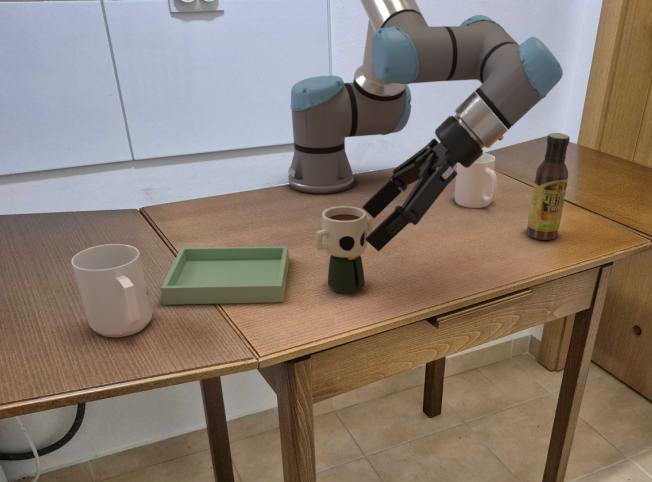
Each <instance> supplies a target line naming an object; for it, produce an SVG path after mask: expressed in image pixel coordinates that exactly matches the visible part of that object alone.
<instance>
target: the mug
mask: <svg viewBox="0 0 652 482" xmlns="http://www.w3.org/2000/svg"><path fill="white" fill-rule="evenodd" d="M70 263H71V267H72V271H73V274H74V278H75V280H76V281H75V282H76V284H77V289H78V291H79V295H80V299H81V302H82V306H83V310H84V313H85V317H86V320H87V324H88V326H89V328H90V329H91V328H92V329H93V330H92V329H91V330H92V331H94V330H95V331H94V332H95V333H97V334H99V335H101V336H103V337H107V338H122V337H128V336H132V335H135V334H136V333H137V334H138V333H139V332H141V331H142V330H145V328H146V327H147V326H148V325H149V323H150V321H152V318H153V308H152V304H151V299H150V294H149V290H148V286H147V280H146V276H145V271H144V266H143V262H142V258H141V253H140V251H139V249H138V248H136V247H135V246H132V245H130V244H124V243H123V244H122V243H109V244H108V243H107V244H100V245H95V246H92V247H89V248H85V249H82V250H81V251H79V252H78V253H75V255H74V256H72V258H71V260H70ZM96 331H97V332H96ZM98 332H100V333H98ZM103 333H107V334H103ZM119 333H121V334H119Z"/></svg>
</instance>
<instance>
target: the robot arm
mask: <svg viewBox="0 0 652 482" xmlns="http://www.w3.org/2000/svg"><path fill="white" fill-rule="evenodd" d="M360 3H361V5H362V7H363V9H364V11H365V13H366V15H367V18H368V23H367V31H366V39H365V45H364V51H363V59H362V65H360V66H358V67H357V68H356V69H355V72H354V75H353V81H352V82H344V80H343V78H342V77H341V76H338V75H318V76H312V77H308V78H304V79H301V80H299V81H297V82H296V83H294V84H293V86H292V87H291V90H290V110H291V122H292V136H293V137H292V138H293V149H294V151H293V156H292V161H291V164H290V166H289V167H288V185H289V187H290V188H291V189H293V190H295V191H297V192H301V193H306V194H317V195H318V194H319V195H321V194H323V195H324V194H333V193H334V194H335V193H340V192H343V191H346V190H348V189H351V187H353V185H354V173H353V170H352V166H351V164H350V161H349V158H348V155H347V153H346V138H354V137H366V136H367V137H368V136H377V135H378V136H379V135H380V136H387V135H390V134H396V133H399V132H401V131H402V130H404V128H406V126H407V124H408V122H409V120H410V116H411V112H412V105H411V102H412V93H411V90H410V87H409V85H411V84H422V83H423V84H424V83H435V82H454V81H456V82H457V81H458V82H459V81H479V82H480V83H481V84H480V85H479V86H478V87H477V88H476V89H475V90H474V91H472V92H471V94H469V96H468V97H467V98H465V99H464V100H463V102H461V104H459V105H458V106H457V107H456V108H455V110H454V113H455V115H449V116H448V117H446V118H445V120H444V121H443V122H441V124H440V125H439V126H437V128H435V130H434V134H435V136H436V138H437V139H436V138H432V139H431V140H430V141H429V142H428V143H427V144H426V145H425V146H424V147H423V148H421V149H419V150H418V151H417V152H416V153H414V154H413V155H412V156H410V157H409V158H407V159H406V160H405V161H403V162H402V163H400V165H398V166H396V167H395V168H394V169H393V170H392V175H391V177H390V179H389V180H388V181H386V183H384V185H382V186H381V188H380V189H379V190H378V191H377V192H375V193H374V194H373V196H371V197H370V198H369V200H367V201H366V202H365V203H364V204H363V205H362V209H363V210H364V211H365V212H366V213H367V214H368V215H369V216H370V217H371V218H373V219H376V217H377V216H378V215H380V214H381V213H382V212H383V211H384V210H385V209H386V208H387V207H388V206H389V205H390V204H391V203H392V202H393V201H394V200H395V199H396V198H398V196H400V194H402V192H403V193H405V192H406V191H407V189H408V186H410V185H412V184H414V183H415V182H416V183H415V185H414V186H413V188H412V189H411V190H410V193H409V194H408V195H407V197H406V198H405V200H404V202H403V203H402V205H396V206H394V210H392V212H390V214H389V215H387V217H386V218H385V219H383V220H382V221H381V223H379V225H378V226H376V228H374V229H373V230H372V232H371V233H370V234H369V235H368V236H367V237H366V241H367V242H368V243H367V244H369V245H370V246H372V248H374V249H375V250H376V251H377V252H380V251H381V250H382V249H383V248H384V247H386V245H387V244H388V243H390V241H392V240H393V238H395V237H396V236H397V235H398V234H399V233H400V232H401V231H402V230H403V229H405V227H407V226H408V225H409V224H412V225H414V226H416V225H418V223H419V222H420V221H421V220H422V219H423V217H425V215H426V213H427V212H428V210H430V209H431V207H432V206H433V204H434V203H435V202H436V200H437V199H438V198H439V196H440V195H441V194H442V193H443V191H444V190H445V189H446V188H447V186H448V185H449V184H450V183H451V182H452V181H453V180H454V179H456V176H457V172H456V169H454V167H455V166H456V165H457V163H460V164H461V165H462V166H463V167H465V168H468V167H470V166H471V165H472V164H473V163H474V162H475V161H476V160H477V159H478V158H479V157H480V156H481V155H483V153H484V150H483V149H484V148H486V149H489V148H492V146H493V145H494V144H495V143H496V142H497V141H502V140H503V139H504V138H505V137H504V135H505V134H506V132H508V130H510V129H511V128H512V127H513V126H514V125H515V124H516V123H518V122H519V121H520V120H521V119H522V118H523V117H524V116H526V114H527V113H528V112H529V111H531V110H532V109H533V108H534V107H535V106H536V105H537V104H538V103H539V102H540V101H541V100H543V99H545V98H546V97H547V95H548V94H549V93H550V91H551V90H553V89H554V87H555V86H556V85H558V83H559V82H560V81H561V80H562V78H563V76H564V74H563V73H564V72H563V68H562V66H561V64H560V62H559V61H558V59H557V58H556V56H555V55H554V54H553V52H552V51H551V50H550V49H549V48H548V46H547V45H546V44H545V43H544V42H543V41H542V40H541V39H539V38H538V37H536V36H530V37H528V38H527V39H526V40H524V41H523V42H521V43H520V44H519V43H518V42H517V41H516V40H515V39H514V38H513V37H512V36H511V35H510V34H509V33H508V32H507V31H506V30H505V28H504V27H503V26H501V25H500V24H499V23H497V22H496V21H495V20H493V19H492V18H491V17H489V16H487V15H483V14H476V15H472V16H471V17H469V18H467V19H465V20H464V21H462V22H461V23H460V25H455V26H453V25H452V26H451V25H450V26H446V25H445V26H444V25H443V26H429V25H428V23H427V21H426V19H425V17H424V16H423V14H422V12H421V10H420V7H419V5H418V4H417V1H416V0H360Z"/></svg>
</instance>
